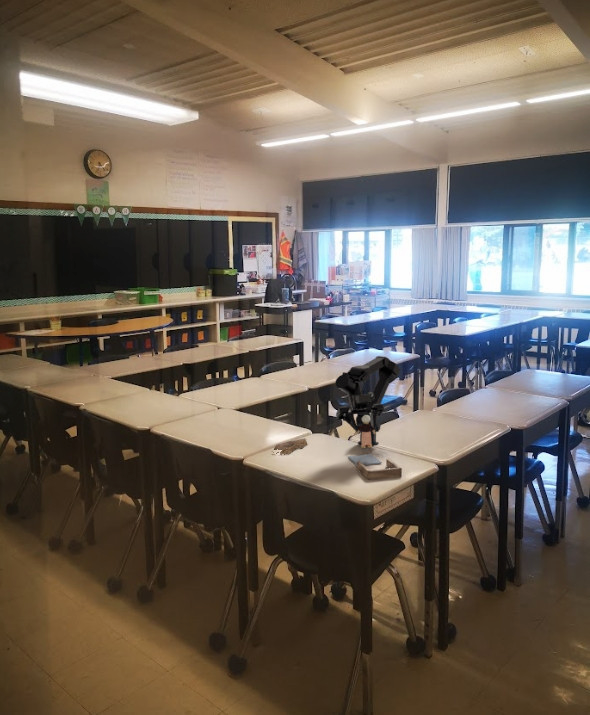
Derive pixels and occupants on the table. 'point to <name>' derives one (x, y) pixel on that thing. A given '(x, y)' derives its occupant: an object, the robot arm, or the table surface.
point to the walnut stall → (380, 471)
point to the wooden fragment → (290, 446)
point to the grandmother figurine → (366, 432)
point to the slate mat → (365, 459)
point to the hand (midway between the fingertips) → (365, 430)
